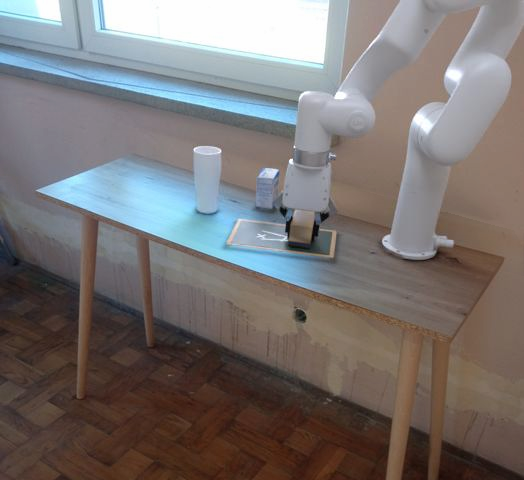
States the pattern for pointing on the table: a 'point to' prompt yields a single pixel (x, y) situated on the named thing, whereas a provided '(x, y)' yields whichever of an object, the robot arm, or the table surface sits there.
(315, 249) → the slate
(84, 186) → the table surface
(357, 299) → the table surface
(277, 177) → the medicine box
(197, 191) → the drinking glass
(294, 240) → the eraser
